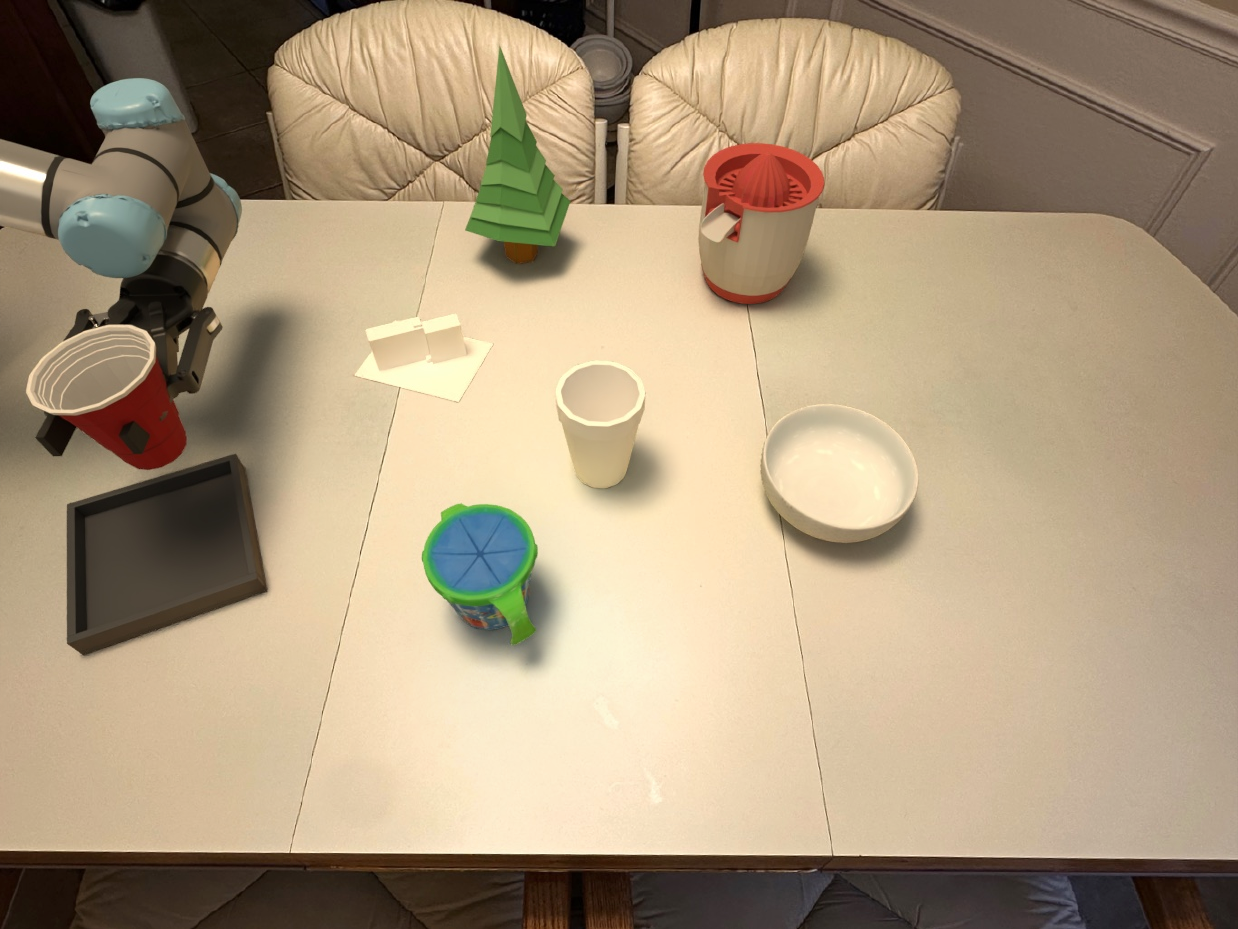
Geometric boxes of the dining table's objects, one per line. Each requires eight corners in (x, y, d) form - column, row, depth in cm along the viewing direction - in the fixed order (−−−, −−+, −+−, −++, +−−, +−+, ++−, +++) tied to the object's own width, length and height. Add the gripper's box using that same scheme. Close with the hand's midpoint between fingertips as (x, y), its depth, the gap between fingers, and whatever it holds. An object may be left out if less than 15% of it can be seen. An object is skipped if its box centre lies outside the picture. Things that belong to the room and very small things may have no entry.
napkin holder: (353, 376, 96) (340, 344, 92) (393, 320, 103) (383, 287, 98) (459, 402, 94) (452, 370, 89) (494, 342, 101) (488, 310, 96)
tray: (80, 517, 83) (66, 503, 81) (245, 467, 87) (235, 453, 85) (82, 655, 73) (66, 643, 71) (267, 591, 78) (257, 578, 75)
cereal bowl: (728, 463, 89) (736, 425, 83) (848, 426, 93) (864, 387, 87) (798, 581, 79) (813, 548, 74) (928, 535, 83) (952, 499, 77)
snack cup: (420, 560, 80) (399, 508, 72) (510, 523, 83) (500, 469, 75) (470, 686, 72) (453, 643, 64) (569, 640, 75) (565, 593, 67)
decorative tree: (582, 273, 110) (576, 64, 86) (477, 290, 107) (440, 79, 83) (562, 220, 118) (552, 14, 94) (463, 234, 115) (426, 27, 91)
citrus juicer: (660, 281, 109) (670, 154, 93) (740, 234, 116) (762, 107, 100) (740, 337, 102) (765, 209, 86) (819, 282, 109) (856, 156, 93)
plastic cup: (113, 412, 77) (43, 325, 68) (221, 403, 78) (168, 316, 69) (81, 497, 71) (0, 415, 61) (199, 486, 72) (137, 404, 62)
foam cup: (556, 441, 90) (550, 365, 80) (631, 431, 92) (634, 355, 81) (567, 505, 85) (562, 432, 74) (647, 493, 86) (652, 420, 76)
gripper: (274, 304, 84) (217, 468, 70) (97, 307, 83) (4, 474, 69) (249, 248, 78) (181, 416, 64) (58, 251, 77) (-53, 421, 63)
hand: (89, 445), depth 66 cm, fingers closed on plastic cup, 6 cm apart
